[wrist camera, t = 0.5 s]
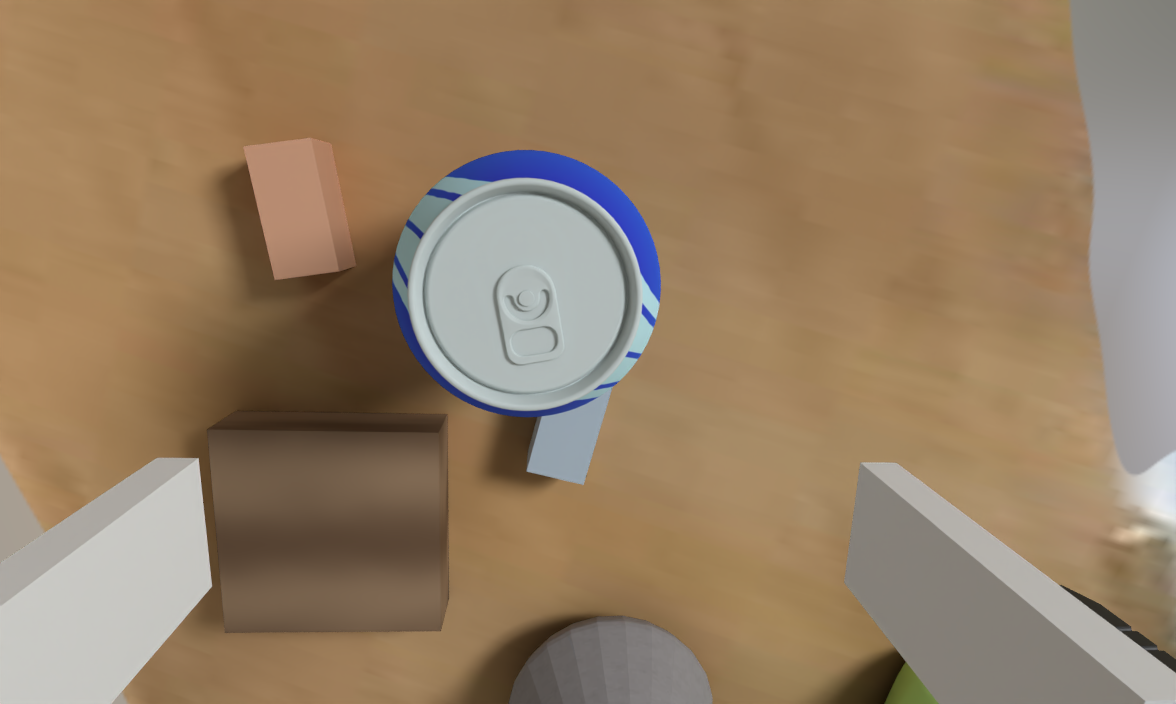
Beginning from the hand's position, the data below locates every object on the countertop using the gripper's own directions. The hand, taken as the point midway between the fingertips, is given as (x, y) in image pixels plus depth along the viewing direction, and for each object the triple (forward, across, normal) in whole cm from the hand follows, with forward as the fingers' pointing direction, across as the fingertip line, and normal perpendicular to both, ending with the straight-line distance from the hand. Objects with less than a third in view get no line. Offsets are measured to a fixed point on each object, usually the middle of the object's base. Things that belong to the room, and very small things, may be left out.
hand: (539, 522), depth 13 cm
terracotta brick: (+22, -12, +5) cm, 26 cm away
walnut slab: (+22, -10, -11) cm, 27 cm away
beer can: (+22, 0, +3) cm, 23 cm away
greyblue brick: (+22, +2, -5) cm, 23 cm away
